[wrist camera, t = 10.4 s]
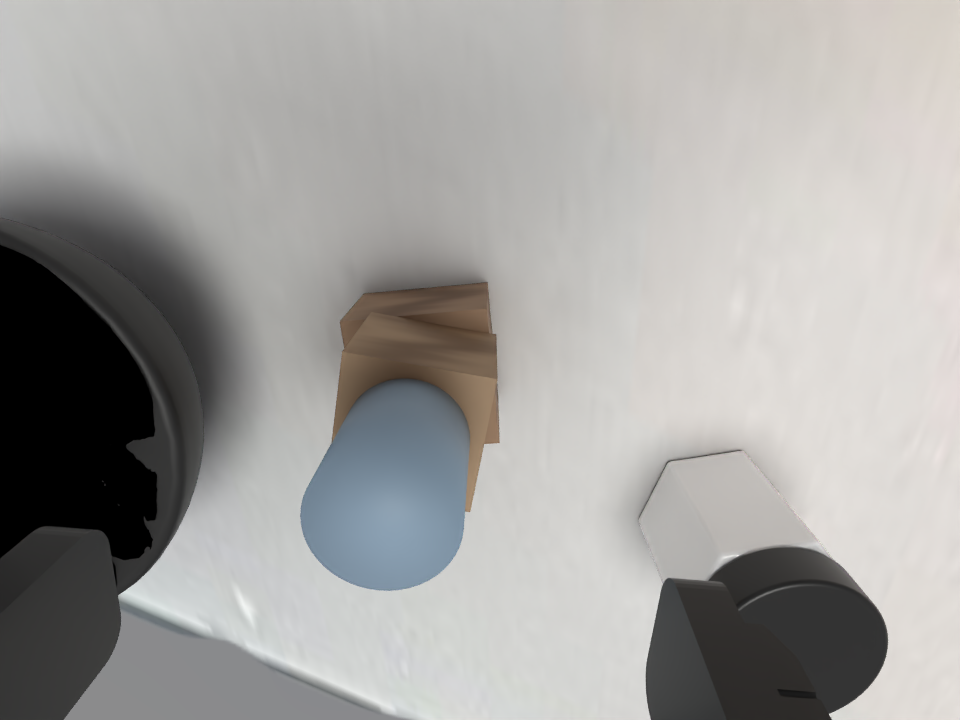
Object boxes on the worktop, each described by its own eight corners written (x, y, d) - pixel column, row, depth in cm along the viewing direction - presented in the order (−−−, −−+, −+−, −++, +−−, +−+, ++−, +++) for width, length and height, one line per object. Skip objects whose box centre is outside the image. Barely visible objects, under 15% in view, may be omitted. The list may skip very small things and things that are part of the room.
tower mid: (496, 334, 29) (497, 379, 24) (473, 446, 31) (470, 512, 26) (371, 311, 29) (342, 351, 24) (356, 425, 31) (326, 487, 25)
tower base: (487, 282, 35) (486, 308, 29) (498, 397, 37) (499, 442, 31) (364, 293, 35) (339, 321, 29) (382, 406, 37) (362, 453, 32)
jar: (613, 497, 39) (663, 641, 28) (723, 421, 37) (826, 542, 26) (693, 588, 41) (771, 756, 30) (801, 520, 39) (927, 672, 28)
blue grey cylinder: (475, 384, 24) (470, 456, 18) (465, 497, 25) (457, 596, 20) (345, 373, 24) (300, 441, 18) (343, 487, 25) (300, 583, 20)
